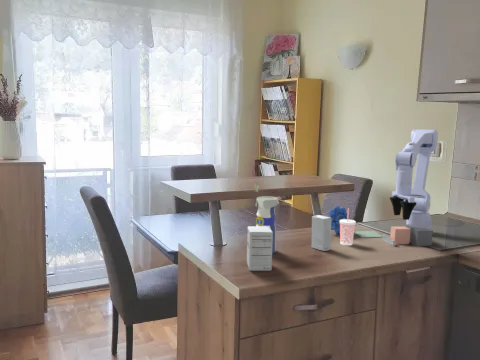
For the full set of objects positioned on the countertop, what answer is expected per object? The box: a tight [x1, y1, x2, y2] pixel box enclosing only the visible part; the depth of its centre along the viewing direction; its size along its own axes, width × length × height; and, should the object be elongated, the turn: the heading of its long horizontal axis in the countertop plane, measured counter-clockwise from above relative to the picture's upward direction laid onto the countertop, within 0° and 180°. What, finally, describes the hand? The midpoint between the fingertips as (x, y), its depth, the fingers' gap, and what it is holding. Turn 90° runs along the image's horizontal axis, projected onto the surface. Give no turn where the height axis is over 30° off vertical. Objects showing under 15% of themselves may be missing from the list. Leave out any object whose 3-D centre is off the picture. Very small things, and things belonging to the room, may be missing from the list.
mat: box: [354, 230, 382, 239], centre depth 189 cm, size 9×9×1 cm
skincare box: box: [311, 214, 332, 252], centre depth 166 cm, size 6×4×12 cm
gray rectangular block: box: [404, 224, 434, 247], centre depth 178 cm, size 6×10×6 cm, turn 7°
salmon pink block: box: [389, 226, 410, 245], centre depth 178 cm, size 6×4×6 cm, turn 96°
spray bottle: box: [253, 182, 280, 254], centre depth 161 cm, size 8×9×25 cm
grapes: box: [328, 205, 351, 235], centre depth 188 cm, size 12×7×12 cm, turn 117°
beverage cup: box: [339, 207, 357, 246], centre depth 173 cm, size 6×6×14 cm
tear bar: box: [381, 233, 397, 247], centre depth 177 cm, size 1×10×2 cm, turn 7°
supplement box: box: [246, 225, 273, 272], centre depth 145 cm, size 7×7×13 cm
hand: (401, 217), depth 177 cm, fingers open, 7 cm apart
